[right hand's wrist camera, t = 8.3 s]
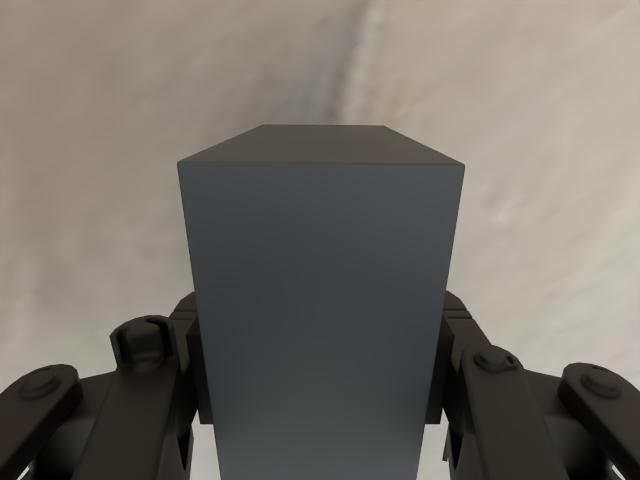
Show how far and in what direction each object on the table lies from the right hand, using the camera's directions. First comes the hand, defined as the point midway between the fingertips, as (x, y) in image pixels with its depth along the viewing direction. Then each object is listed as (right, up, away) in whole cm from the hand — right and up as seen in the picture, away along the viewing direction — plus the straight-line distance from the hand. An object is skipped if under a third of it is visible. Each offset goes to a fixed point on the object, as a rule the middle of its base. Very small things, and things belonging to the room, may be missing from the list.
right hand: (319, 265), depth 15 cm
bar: (0, -23, +10) cm, 25 cm away
